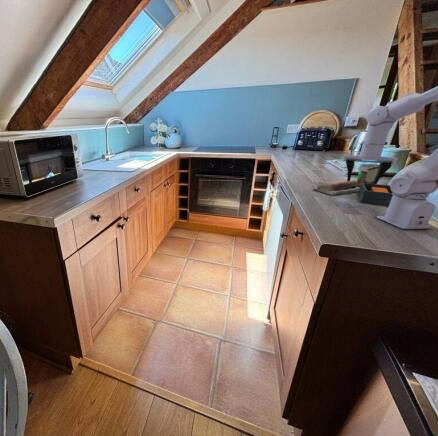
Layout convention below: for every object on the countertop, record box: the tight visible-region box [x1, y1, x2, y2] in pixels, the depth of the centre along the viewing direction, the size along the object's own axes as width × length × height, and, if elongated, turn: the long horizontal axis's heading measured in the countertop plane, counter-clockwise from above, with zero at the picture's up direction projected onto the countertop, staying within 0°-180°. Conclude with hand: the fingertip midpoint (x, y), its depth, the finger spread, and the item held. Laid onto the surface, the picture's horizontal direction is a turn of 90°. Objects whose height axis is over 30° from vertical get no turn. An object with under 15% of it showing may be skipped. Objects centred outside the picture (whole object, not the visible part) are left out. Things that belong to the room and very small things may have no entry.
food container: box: [356, 163, 379, 188], centre depth 117 cm, size 12×6×10 cm, turn 113°
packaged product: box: [312, 178, 360, 196], centre depth 111 cm, size 18×5×10 cm
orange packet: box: [370, 187, 389, 193], centre depth 98 cm, size 11×4×4 cm, turn 145°
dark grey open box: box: [357, 183, 393, 207], centre depth 98 cm, size 15×12×5 cm
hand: (361, 182), depth 90 cm, fingers open, 7 cm apart
